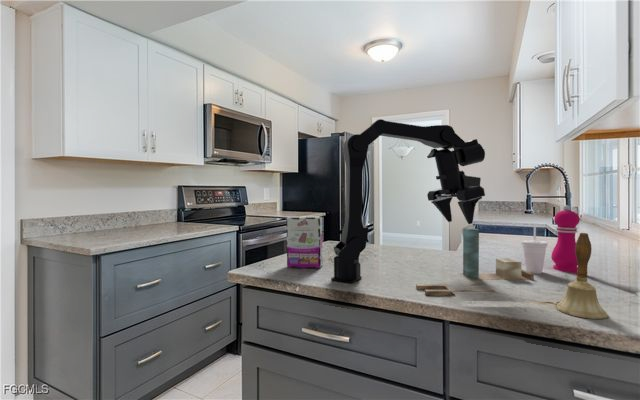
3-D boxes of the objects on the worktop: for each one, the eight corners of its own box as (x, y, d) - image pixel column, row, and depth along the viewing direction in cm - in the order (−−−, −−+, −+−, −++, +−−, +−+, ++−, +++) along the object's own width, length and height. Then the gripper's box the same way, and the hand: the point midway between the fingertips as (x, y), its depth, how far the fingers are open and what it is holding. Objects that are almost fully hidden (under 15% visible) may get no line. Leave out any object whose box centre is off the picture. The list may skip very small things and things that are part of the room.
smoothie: (523, 276, 95) (523, 227, 94) (519, 271, 101) (519, 225, 100) (549, 278, 92) (550, 228, 92) (544, 273, 98) (544, 225, 98)
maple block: (504, 278, 89) (504, 261, 89) (495, 274, 93) (495, 258, 93) (521, 278, 89) (521, 261, 89) (512, 274, 93) (512, 258, 93)
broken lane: (421, 295, 79) (421, 291, 79) (414, 286, 86) (414, 282, 86) (498, 295, 78) (498, 291, 78) (484, 287, 85) (484, 283, 85)
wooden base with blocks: (467, 283, 89) (468, 230, 88) (458, 276, 95) (459, 227, 94) (533, 283, 88) (534, 230, 87) (520, 277, 94) (520, 227, 94)
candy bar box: (323, 265, 111) (322, 216, 110) (320, 269, 106) (320, 217, 105) (290, 264, 113) (289, 215, 112) (286, 267, 108) (285, 217, 107)
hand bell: (585, 304, 72) (586, 230, 71) (619, 319, 64) (621, 235, 63) (546, 304, 72) (547, 230, 71) (575, 319, 64) (577, 236, 63)
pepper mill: (571, 269, 102) (572, 204, 102) (587, 276, 95) (588, 205, 94) (545, 269, 103) (546, 204, 102) (560, 275, 96) (561, 205, 95)
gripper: (495, 160, 89) (507, 217, 90) (452, 167, 107) (462, 214, 108) (460, 169, 86) (472, 228, 87) (421, 174, 104) (432, 223, 105)
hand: (459, 222), depth 97 cm, fingers open, 9 cm apart
